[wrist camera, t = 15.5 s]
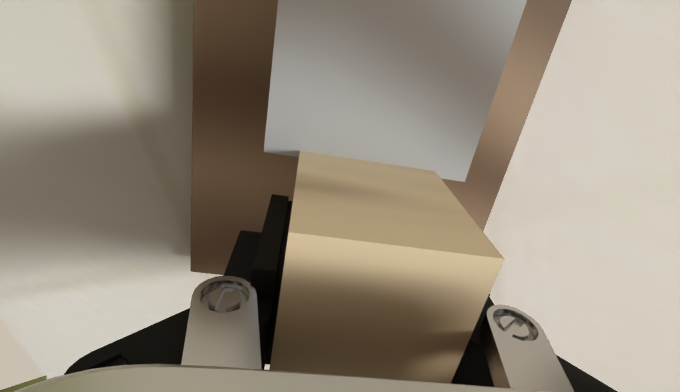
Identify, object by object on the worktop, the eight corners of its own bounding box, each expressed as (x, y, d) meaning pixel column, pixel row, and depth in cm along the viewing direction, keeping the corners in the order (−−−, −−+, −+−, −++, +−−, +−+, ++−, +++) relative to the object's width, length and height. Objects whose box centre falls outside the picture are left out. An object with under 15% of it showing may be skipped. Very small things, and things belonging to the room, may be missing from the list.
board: (448, 284, 18) (456, 300, 17) (198, 255, 17) (190, 271, 16) (568, -45, 13) (591, -51, 12) (207, -129, 11) (195, -146, 10)
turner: (411, 316, 14) (456, 458, 9) (250, 300, 13) (216, 445, 9) (550, -98, 9) (799, -226, 4) (296, -162, 8) (267, -401, 3)
